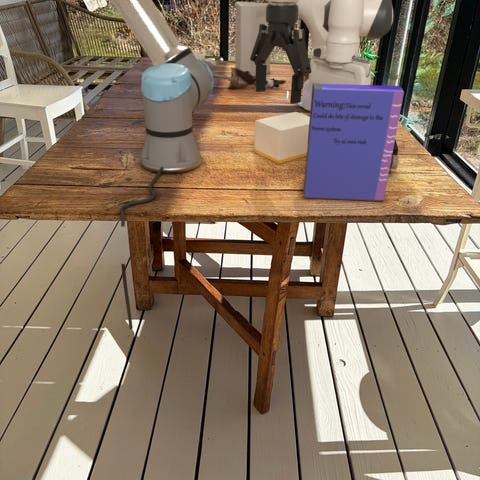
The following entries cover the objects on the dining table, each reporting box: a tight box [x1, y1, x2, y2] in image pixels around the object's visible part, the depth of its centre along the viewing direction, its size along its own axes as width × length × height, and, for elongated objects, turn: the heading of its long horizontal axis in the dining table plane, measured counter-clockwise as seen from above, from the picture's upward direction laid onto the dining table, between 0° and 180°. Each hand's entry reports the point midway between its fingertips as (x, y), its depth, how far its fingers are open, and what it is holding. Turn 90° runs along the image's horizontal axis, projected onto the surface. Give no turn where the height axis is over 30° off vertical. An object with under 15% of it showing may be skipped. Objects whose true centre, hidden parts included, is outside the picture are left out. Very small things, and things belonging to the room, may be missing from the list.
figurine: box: [213, 66, 287, 89], centre depth 190 cm, size 24×8×30 cm
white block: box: [234, 1, 272, 76], centre depth 210 cm, size 19×15×28 cm
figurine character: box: [388, 138, 399, 176], centre depth 121 cm, size 7×8×15 cm
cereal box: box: [302, 84, 405, 202], centre depth 102 cm, size 17×5×24 cm, turn 86°
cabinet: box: [253, 111, 310, 165], centre depth 129 cm, size 14×10×9 cm
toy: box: [151, 50, 218, 67], centre depth 224 cm, size 24×25×7 cm
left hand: (277, 96), depth 121 cm, fingers open, 13 cm apart
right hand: (335, 105), depth 135 cm, fingers closed
